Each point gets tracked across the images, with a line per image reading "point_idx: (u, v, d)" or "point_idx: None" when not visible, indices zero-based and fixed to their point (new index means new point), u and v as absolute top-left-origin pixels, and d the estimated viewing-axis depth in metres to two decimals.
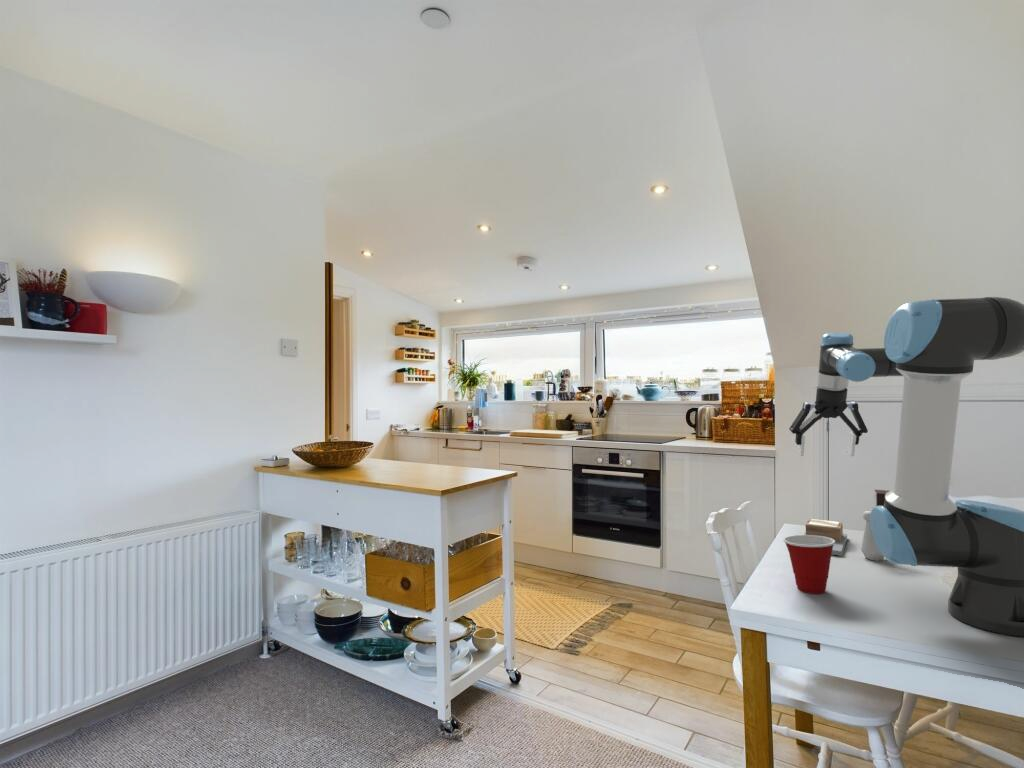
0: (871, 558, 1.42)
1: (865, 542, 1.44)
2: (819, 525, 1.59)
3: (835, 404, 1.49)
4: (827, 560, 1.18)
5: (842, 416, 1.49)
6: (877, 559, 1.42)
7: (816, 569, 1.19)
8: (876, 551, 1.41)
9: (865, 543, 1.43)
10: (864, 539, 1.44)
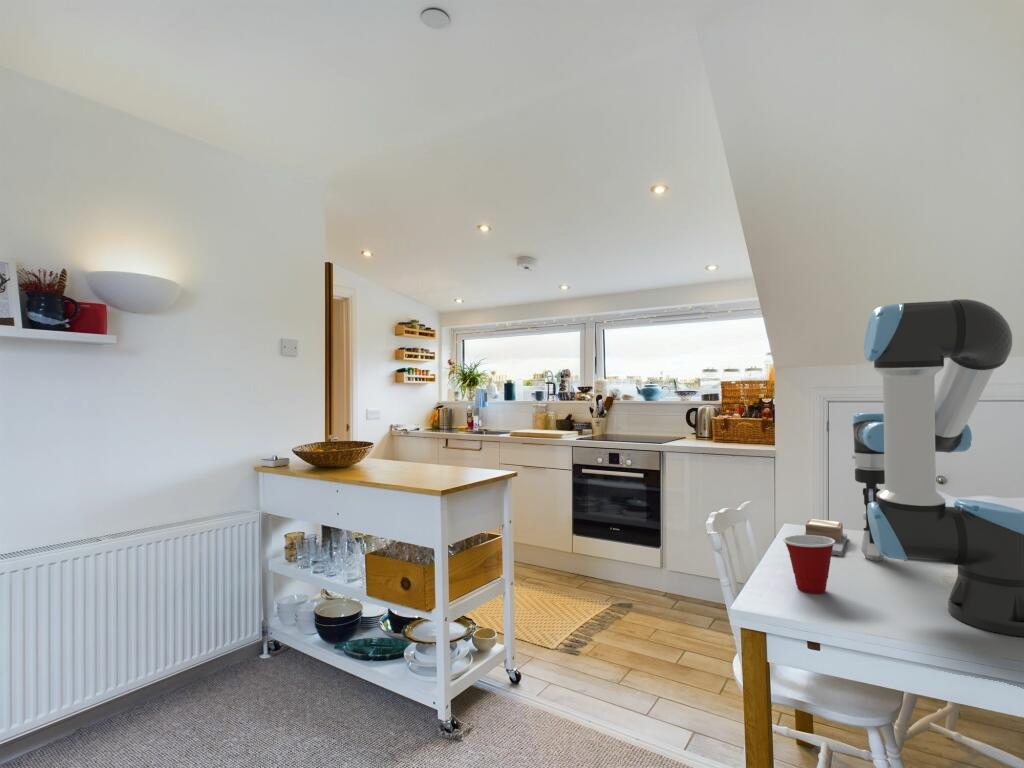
0: (871, 558, 1.42)
1: (865, 542, 1.44)
2: (819, 525, 1.59)
3: None
4: (827, 560, 1.18)
5: None
6: (877, 559, 1.42)
7: (816, 569, 1.19)
8: None
9: (865, 543, 1.43)
10: (864, 539, 1.44)
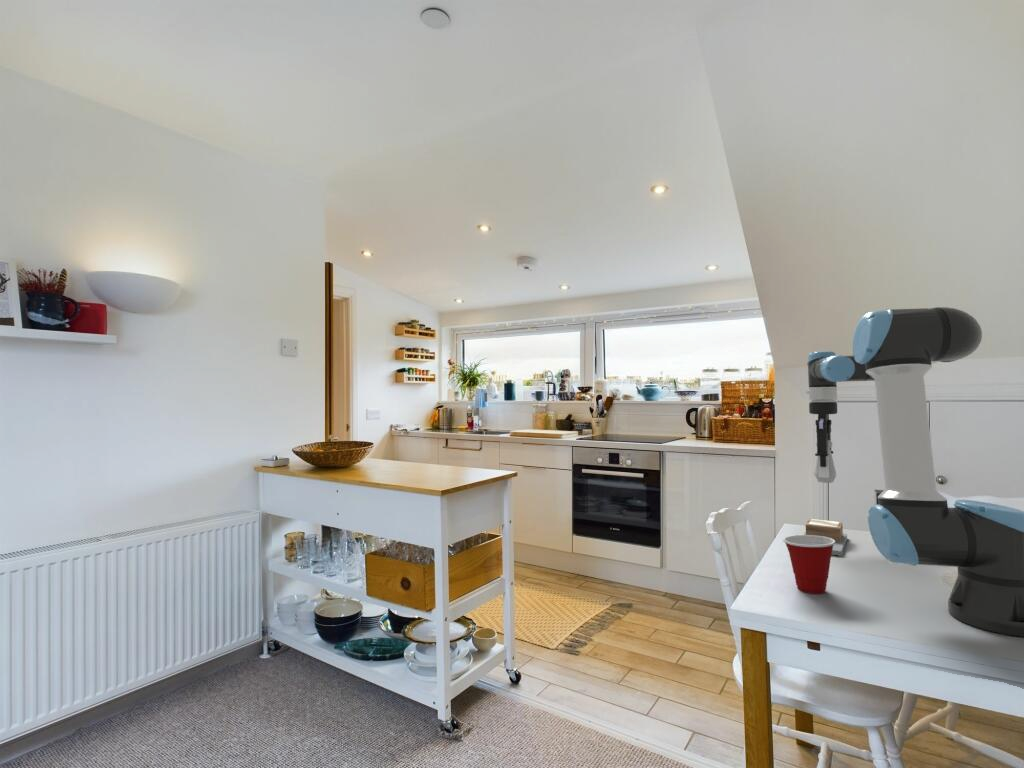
0: (822, 480, 1.60)
1: (817, 466, 1.61)
2: (819, 525, 1.59)
3: (827, 414, 1.62)
4: (827, 560, 1.18)
5: (830, 429, 1.62)
6: (827, 481, 1.59)
7: (816, 569, 1.19)
8: None
9: None
10: (817, 464, 1.61)
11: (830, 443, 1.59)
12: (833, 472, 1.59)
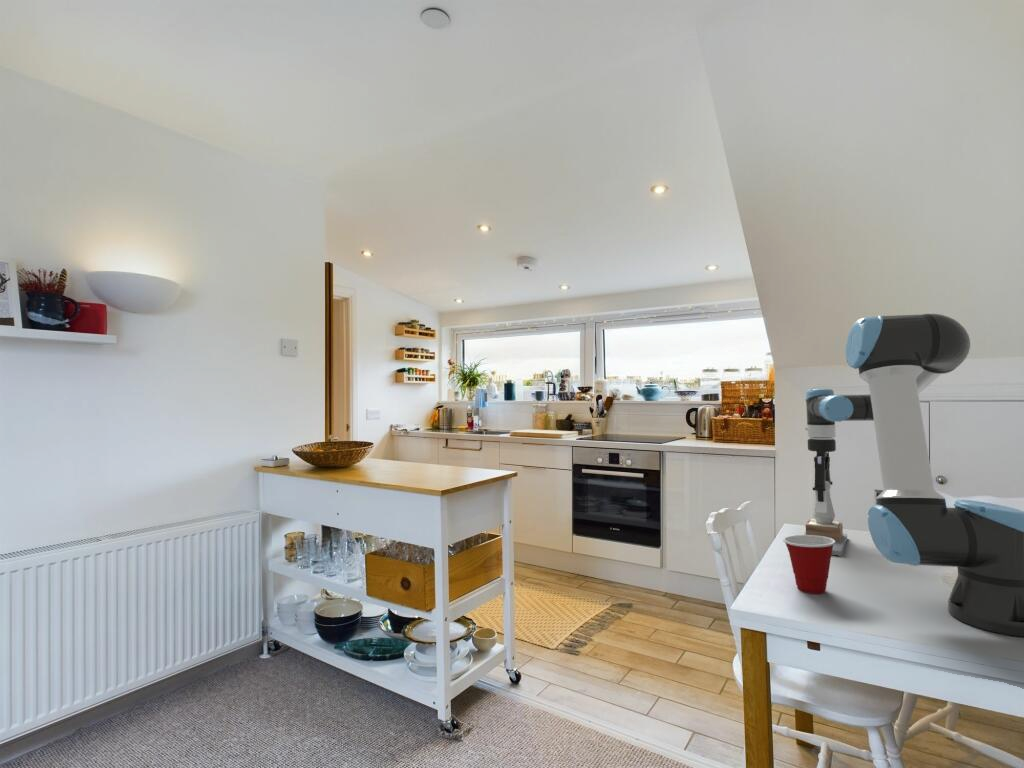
0: (821, 522, 1.60)
1: None
2: (819, 525, 1.59)
3: (826, 453, 1.62)
4: (827, 560, 1.18)
5: (829, 465, 1.63)
6: (826, 523, 1.59)
7: (816, 569, 1.19)
8: (825, 515, 1.59)
9: None
10: (815, 505, 1.62)
11: (828, 485, 1.60)
12: (832, 514, 1.59)
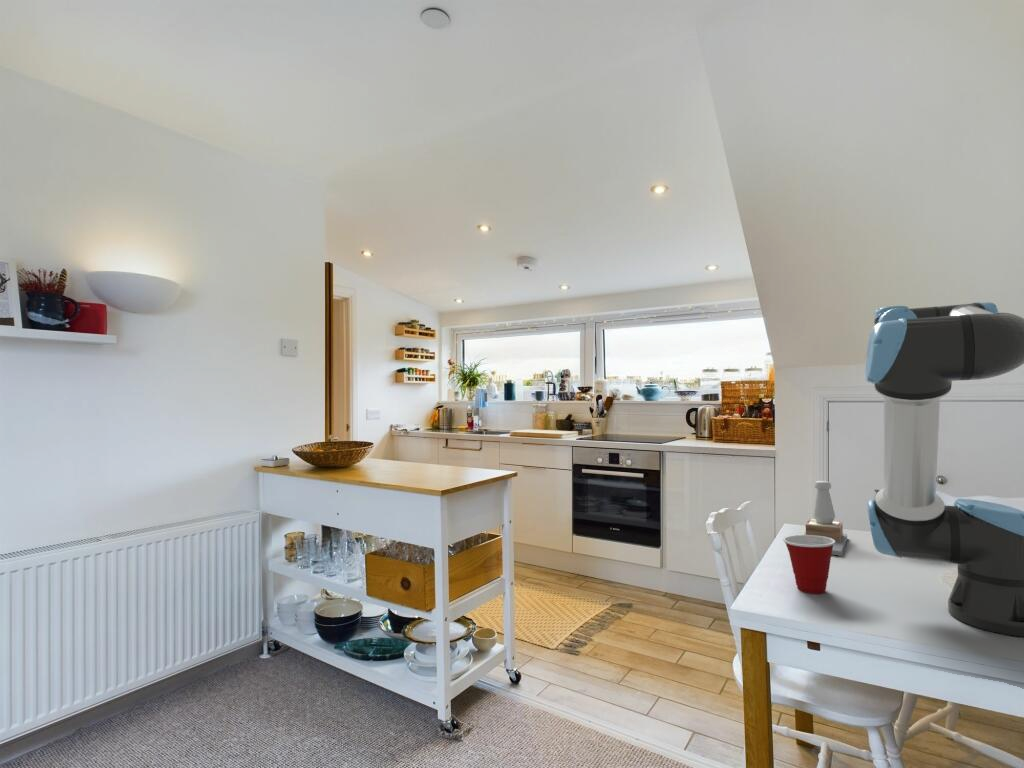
0: (821, 522, 1.60)
1: (816, 508, 1.61)
2: (819, 525, 1.59)
3: None
4: (827, 560, 1.18)
5: None
6: (826, 523, 1.59)
7: (816, 569, 1.19)
8: (825, 515, 1.59)
9: (816, 509, 1.61)
10: (815, 505, 1.62)
11: (829, 485, 1.60)
12: (832, 514, 1.59)
